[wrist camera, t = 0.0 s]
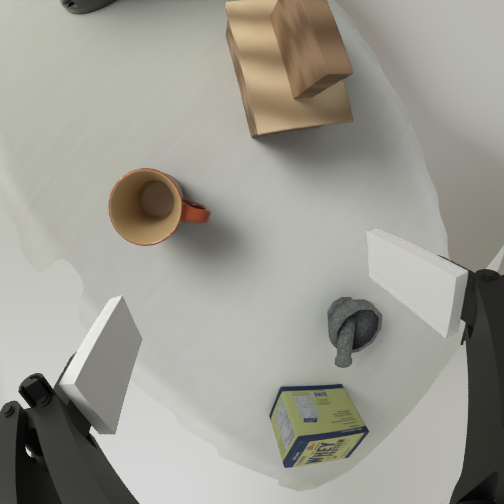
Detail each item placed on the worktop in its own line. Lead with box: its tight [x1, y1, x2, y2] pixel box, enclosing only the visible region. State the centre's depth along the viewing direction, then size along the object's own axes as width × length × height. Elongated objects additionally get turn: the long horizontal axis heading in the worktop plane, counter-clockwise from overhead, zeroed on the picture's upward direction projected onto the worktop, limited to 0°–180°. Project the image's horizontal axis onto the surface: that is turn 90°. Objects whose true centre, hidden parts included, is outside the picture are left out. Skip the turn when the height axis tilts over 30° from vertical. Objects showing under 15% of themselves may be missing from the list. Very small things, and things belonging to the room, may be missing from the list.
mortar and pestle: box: [328, 297, 382, 368], centre depth 43 cm, size 11×9×12 cm
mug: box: [109, 168, 211, 246], centre depth 34 cm, size 12×9×10 cm
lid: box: [225, 0, 353, 135], centre depth 22 cm, size 19×12×12 cm, turn 12°
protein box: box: [269, 384, 369, 468], centre depth 48 cm, size 10×16×16 cm
